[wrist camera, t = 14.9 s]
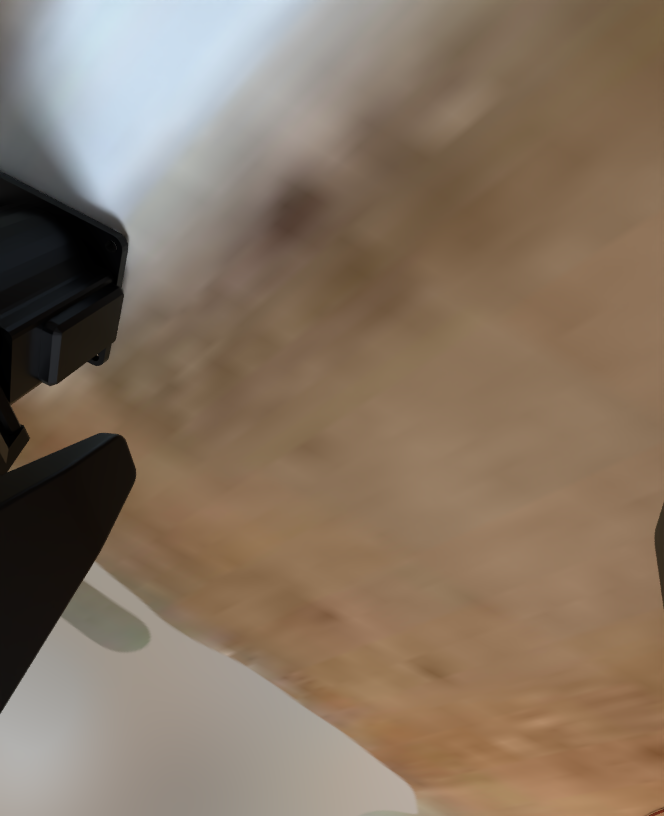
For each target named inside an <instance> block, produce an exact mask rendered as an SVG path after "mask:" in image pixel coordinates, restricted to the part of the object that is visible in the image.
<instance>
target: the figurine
mask: <svg viewBox="0 0 664 816" xmlns="http://www.w3.org/2000/svg"><path fill="white" fill-rule="evenodd" d="M663 812H664V809H663V810H660V811H658V812H655V813H653V814H651V815H649V816H655V815H657V814H660V813H663Z"/></svg>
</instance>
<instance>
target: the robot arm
mask: <svg viewBox="0 0 664 816" xmlns="http://www.w3.org/2000/svg"><path fill="white" fill-rule="evenodd" d="M111 241H113V242H114V243H115V245H116V247H117V250H116V249H114V248H113V246H112V245H111ZM127 253H128V244H127V241H126V239H125V238H124V236H123V235H122V234H120V233H119V232H117V231H115V230H113V229H111V228H109V227H107V226H106V225H104V224H102V223H100V222H98V221H96V220H94V219H92V218H90V217H88V216H86V215H84V214H82V213H80V212H78V211H76V210H74V209H72V208H71V207H69V206H67V205H65V204H63V203H61V202H59V201H57V200H55V199H53V198H51V197H49V196H47V195H45V194H43V193H41V192H39V191H37V190H35V189H34V188H32V187H30V186H28V185H26V184H24V183H22V182H20V181H18V180H16V179H14V178H12V177H10V176H8V175H6V174H4V173H2V172H0V714H1V712H2V710H3V709H4V707H5V706H6V704H7V702H8V701H9V699H10V697H11V696H12V694H13V693H14V691H15V689H16V688H17V686H18V684H19V683H20V681H21V680H22V678H23V676H24V675H25V673H26V672H27V670H28V668H29V667H30V665H31V663H32V662H33V660H34V659H35V657H36V655H37V654H38V652H39V650H40V649H41V647H42V646H43V644H44V642H45V641H46V639H47V638H48V636H49V634H50V633H51V631H52V629H53V628H54V626H55V624H56V623H57V621H58V620H59V618H60V616H61V615H62V613H63V612H64V610H65V608H66V607H67V605H68V604H69V602H70V600H71V599H72V597H73V595H74V594H75V592H76V591H77V589H78V587H79V586H80V584H81V583H82V581H83V579H84V578H85V576H86V574H87V573H88V571H89V570H90V568H91V566H92V564H93V563H94V561H95V560H96V558H97V556H98V555H99V553H100V551H101V549H102V547H103V545H104V543H105V542H106V540H107V538H108V536H109V534H110V531H111V529H112V527H113V525H114V523H115V521H116V519H117V517H118V515H119V513H120V511H121V509H122V507H123V505H124V503H125V501H126V499H127V497H128V495H129V493H130V491H131V489H132V487H133V484H134V482H135V479H136V468H135V465H134V462H133V459H132V456H131V454H130V451H129V448H128V445H127V442H126V440H125V439H124V437H123V436H121V435H119V434H111V433H99V434H96V435H94V436H91V437H89V438H87V439H84V440H82V441H80V442H77V443H75V444H73V445H70V446H68V447H66V448H63V449H61V450H59V451H57V452H54V453H52V454H50V455H47V456H45V457H43V458H40V459H38V460H36V461H33V462H31V463H29V464H26V465H24V466H22V467H19V468H17V469H15V470H12V471H10V472H8V470H9V469H10V467H11V466H12V464H13V463H14V461H15V460H16V458H17V457H18V455H19V454H20V452H21V451H22V449H23V448H24V447H25V445H26V444H27V442H28V441H29V439H30V437H29V435H28V433H27V431H26V429H25V427H24V425H20V423H19V421H18V419H17V417H16V415H15V413H14V411H13V409H12V407H11V405H12V404H13V403H14V402H16V401H17V400H19V399H20V398H21V397H23V396H24V395H25V394H27V393H28V392H30V391H31V390H32V389H34V388H35V387H37V386H38V385H39V384H41V383H42V382H43V383H45V384H47V385H49V386H52V385H55V384H58V383H59V382H61V381H62V380H63V379H65V378H66V377H67V376H69V375H70V374H71V373H73V372H74V371H75V370H77V369H78V368H79V367H81V366H82V365H84V364H85V363H86V362H89V363H90V364H92V365H95V366H100V365H102V364H103V363H104V362H106V361H107V360H108V358H109V354H110V349H111V344H112V343H113V342H114V341H115V340H116V336H117V330H118V325H119V319H120V314H121V308H122V303H123V297H124V294H123V290H122V288H121V287H122V281H123V275H124V270H125V264H126V258H127ZM97 354H98V356H97ZM7 472H8V473H7ZM655 550H656V557H657V564H658V571H659V578H660V585H661V593H662V600H663V607H664V503H663V507H662V510H661V513H660V516H659V519H658V523H657V526H656V529H655Z"/></svg>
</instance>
